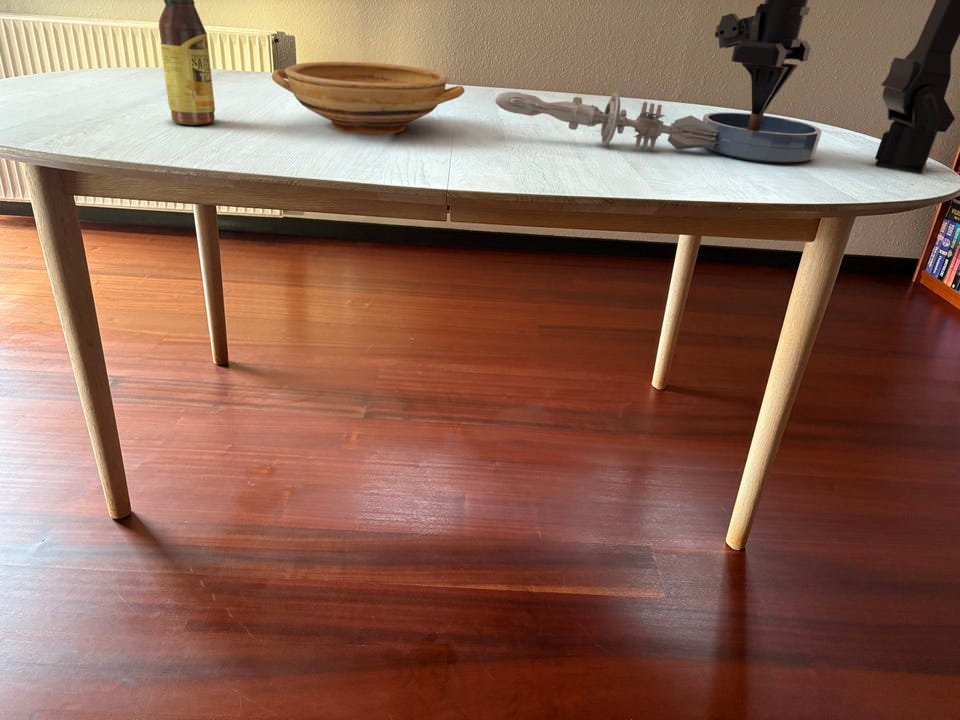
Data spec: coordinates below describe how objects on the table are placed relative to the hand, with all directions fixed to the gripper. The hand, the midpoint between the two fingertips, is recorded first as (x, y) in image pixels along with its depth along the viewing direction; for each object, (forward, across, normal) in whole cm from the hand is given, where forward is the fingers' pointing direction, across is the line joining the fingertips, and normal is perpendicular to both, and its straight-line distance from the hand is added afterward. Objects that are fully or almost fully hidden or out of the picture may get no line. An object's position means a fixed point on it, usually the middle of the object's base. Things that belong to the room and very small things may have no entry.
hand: (757, 113), depth 104 cm
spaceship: (+6, +14, -18) cm, 24 cm away
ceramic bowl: (+6, +34, -49) cm, 60 cm away
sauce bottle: (+6, +53, -66) cm, 85 cm away
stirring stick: (+6, 0, 0) cm, 6 cm away
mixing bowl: (+6, -3, 0) cm, 7 cm away
